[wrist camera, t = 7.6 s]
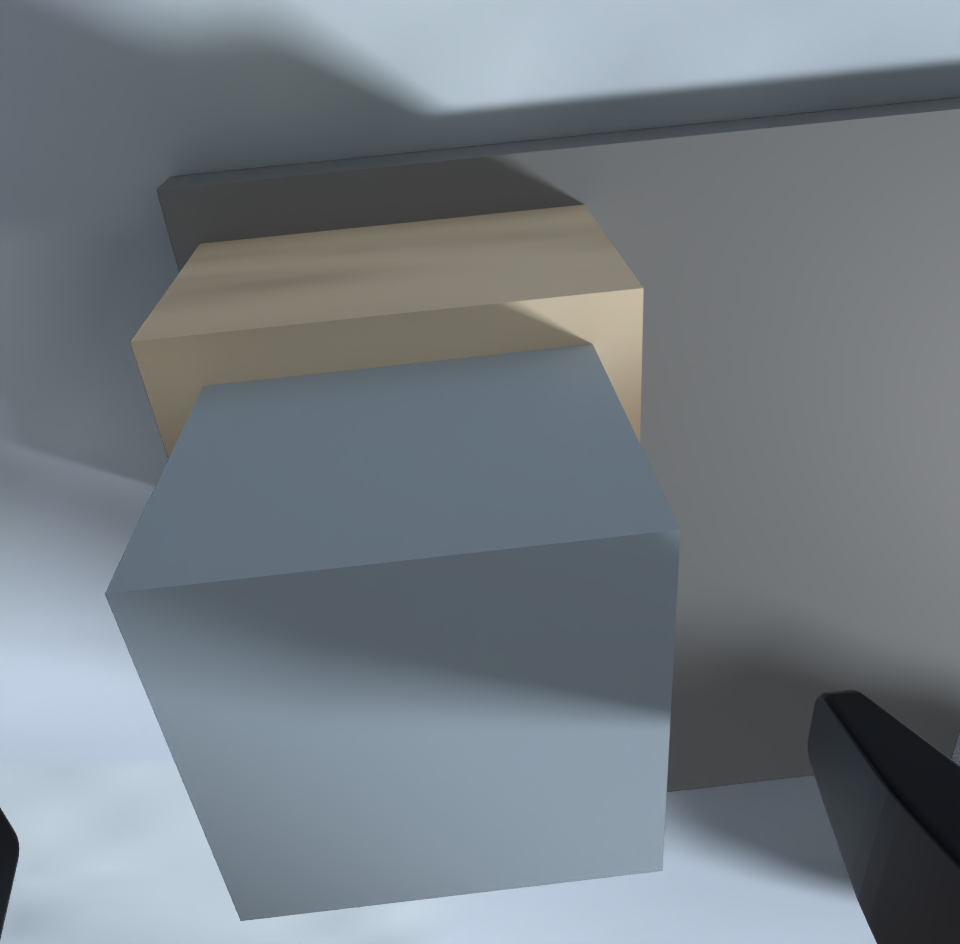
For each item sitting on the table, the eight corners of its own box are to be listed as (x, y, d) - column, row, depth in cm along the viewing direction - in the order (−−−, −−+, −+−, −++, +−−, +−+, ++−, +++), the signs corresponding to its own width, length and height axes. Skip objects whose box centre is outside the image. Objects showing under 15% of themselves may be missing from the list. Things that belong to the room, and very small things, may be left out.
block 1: (589, 518, 19) (634, 660, 15) (280, 552, 19) (248, 703, 15) (584, 204, 15) (643, 288, 11) (199, 243, 15) (129, 341, 11)
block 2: (596, 633, 15) (661, 870, 11) (284, 669, 15) (240, 921, 11) (592, 343, 12) (680, 530, 8) (203, 386, 12) (104, 593, 8)
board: (932, 732, 25) (950, 759, 24) (337, 800, 25) (334, 830, 24) (1127, 80, 16) (1168, 88, 15) (170, 176, 15) (156, 189, 15)
